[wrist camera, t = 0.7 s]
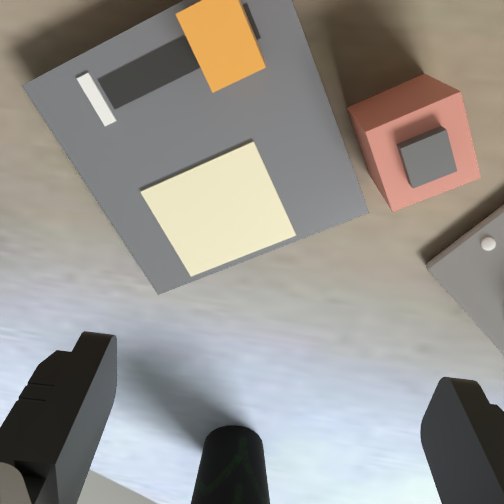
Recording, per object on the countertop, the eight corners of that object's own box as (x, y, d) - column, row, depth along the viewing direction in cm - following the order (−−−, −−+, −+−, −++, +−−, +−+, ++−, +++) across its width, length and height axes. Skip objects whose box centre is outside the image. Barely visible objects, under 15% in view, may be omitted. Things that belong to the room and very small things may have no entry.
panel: (273, -46, 26) (274, -49, 24) (363, 201, 33) (369, 214, 31) (35, 79, 30) (20, 86, 28) (162, 280, 37) (157, 296, 35)
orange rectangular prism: (234, -15, 25) (231, -16, 22) (265, 59, 27) (265, 67, 24) (183, 11, 26) (175, 14, 23) (216, 83, 27) (212, 92, 25)
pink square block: (423, 73, 29) (466, 94, 23) (443, 146, 31) (487, 183, 26) (346, 107, 30) (368, 136, 24) (370, 176, 32) (396, 217, 27)
